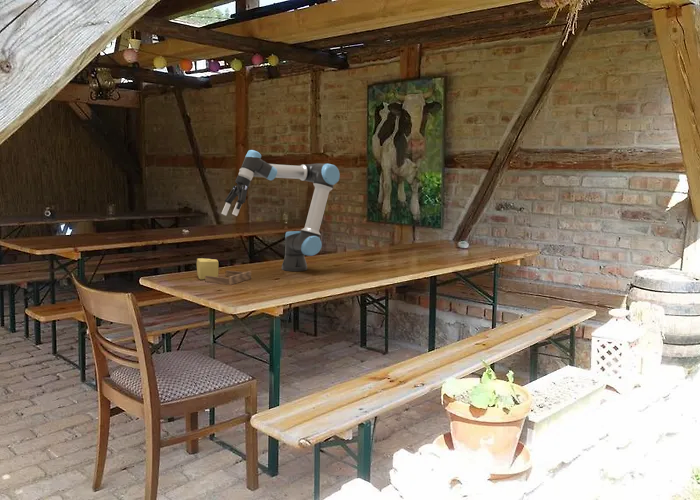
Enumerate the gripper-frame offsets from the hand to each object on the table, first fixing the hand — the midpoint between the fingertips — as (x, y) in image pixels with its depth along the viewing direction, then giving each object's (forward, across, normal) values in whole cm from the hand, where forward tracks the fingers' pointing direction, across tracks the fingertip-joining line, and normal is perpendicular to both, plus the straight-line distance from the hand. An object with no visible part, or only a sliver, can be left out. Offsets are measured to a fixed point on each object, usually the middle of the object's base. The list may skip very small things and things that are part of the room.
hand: (229, 214), depth 318 cm
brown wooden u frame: (+31, -4, +15) cm, 35 cm away
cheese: (+34, -14, +9) cm, 38 cm away
